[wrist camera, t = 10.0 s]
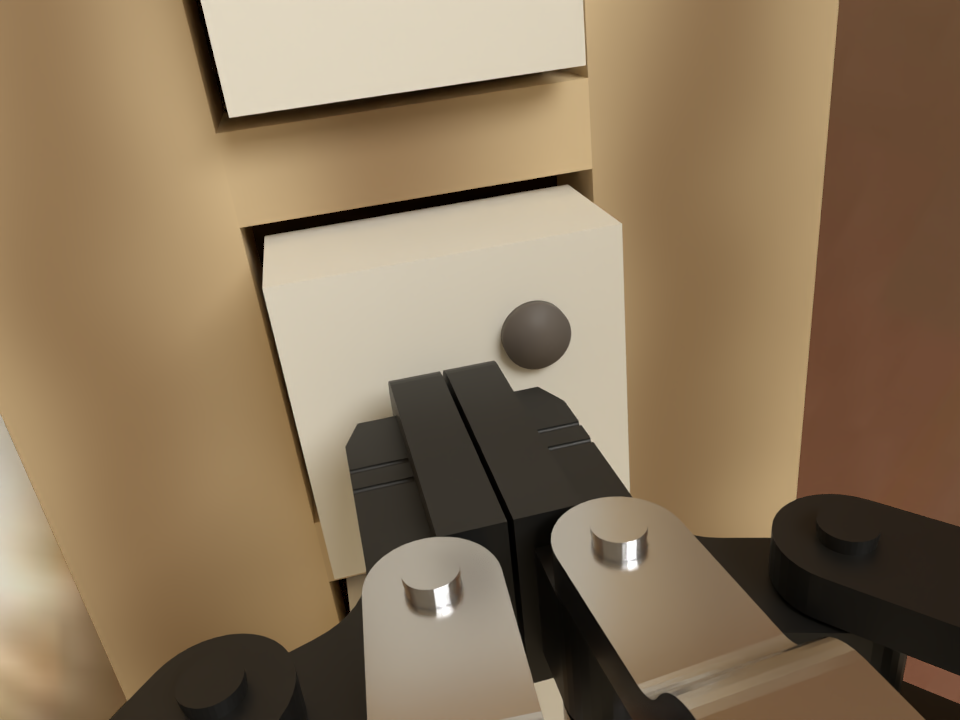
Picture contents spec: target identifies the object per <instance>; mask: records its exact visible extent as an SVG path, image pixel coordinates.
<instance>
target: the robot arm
mask: <svg viewBox="0 0 960 720" xmlns="http://www.w3.org/2000/svg"><path fill="white" fill-rule="evenodd" d="M388 386H389V394H390V400H391V406H392V412H393V416H392V417H388V418H383V419H378V420H373V421H368V422H363V423H358V424H357V425H356V427H355V429H354V431H353V433H352V435H351V437H350V439H349V441H348V443H347V444H346V446H345V448H346V454H347V460H348V466H349V472H350V478H351V484H352V490H353V495H354V501H355V507H356V513H357V519H358V525H359V531H360V537H361V542H362V548H363V554H364V560H365V566H366V578H365V581H364V584H363V587H362V595H361V597H360V599H359V601H358V602H357V604H356V605H355V607H354V608H353V609H352V610H351V612H350V613H349V614H348V615H347V616H346V617H345V618H344V619H343V620H342V621H341V622H340V623H338V624H337V625H336V626H334V627H333V628H332V629H330V630H329V631H327V632H326V633H324V634H322V635H321V636H319V637H317V638H315V639H314V640H312V641H310V642H308V643H306V644H304V645H302V646H300V647H298V648H296V649H294V650H292V651H290V652H288V651H287V650H286V649H285V648H284V647H283V646H282V645H281V644H279V643H278V642H276V641H275V640H272V639H270V638H268V637H265V636H261V635H256V634H244V633H241V634H229V635H224V636H219V637H215V638H212V639H209V640H206V641H203V642H201V643H198V644H196V645H194V646H192V647H190V648H188V649H186V650H184V651H183V652H181V653H179V654H177V655H176V656H175V657H173V658H172V659H171V660H169V661H168V662H166V663H165V664H164V665H163V666H162V667H161V668H160V669H159V670H157V671H156V672H155V673H154V674H153V675H152V676H151V677H150V678H149V679H148V680H147V681H146V683H145V684H144V685H143V686H142V687H141V688H140V689H139V690H138V691H137V692H136V693H135V694H134V695H133V696H132V697H131V698H130V699H129V700H128V701H127V702H126V703H125V704H124V705H123V706H122V707H121V708H120V709H119V710H118V711H117V712H116V713H115V714H114V715H113V716H112V717H111V718H110V720H544V718H543V715H542V711H541V708H540V704H539V701H538V697H537V693H536V690H535V686H534V683H537V682H540V681H544V680H548V679H552V678H554V680H555V682H556V685H557V687H558V690H559V692H560V695H561V697H562V700H563V714H564V720H960V704H958V703H956V702H953V701H951V700H948V699H946V698H944V697H941V696H939V695H936V694H934V693H931V692H929V691H926V690H924V689H922V688H919V687H917V686H914V685H912V684H909V683H907V682H904V681H902V680H903V675H904V670H905V665H906V659H907V655H908V656H911V657H913V658H916V659H919V660H921V661H924V662H926V663H929V664H931V665H934V666H937V667H939V668H942V669H944V670H947V671H949V672H952V673H954V674H957V675H960V527H959V526H955V525H952V524H948V523H945V522H942V521H938V520H935V519H931V518H928V517H925V516H921V515H918V514H914V513H911V512H908V511H904V510H901V509H897V508H894V507H891V506H887V505H884V504H880V503H877V502H874V501H870V500H867V499H863V498H858V497H854V496H847V495H838V494H820V495H812V496H806V497H803V498H799V499H796V500H794V501H792V502H790V503H788V504H787V505H785V506H784V507H782V508H781V509H780V510H779V511H778V512H777V514H776V515H775V517H774V519H773V523H772V530H771V538H715V537H703V536H696V535H693V534H692V533H691V532H690V530H689V529H688V528H687V527H686V526H685V525H684V524H683V523H682V522H681V521H680V519H678V518H677V517H676V516H675V515H674V514H673V513H672V512H670V511H669V510H667V509H665V508H664V507H662V506H660V505H657V504H655V503H652V502H649V501H646V500H642V499H638V498H633V497H632V496H631V494H630V493H629V491H628V490H627V489H626V487H625V486H624V484H623V483H622V481H621V480H620V479H619V477H618V476H617V474H616V473H615V472H614V470H613V469H612V467H611V466H610V464H609V463H608V462H607V460H606V459H605V457H604V456H603V455H602V453H601V452H600V450H599V449H598V448H597V446H596V445H595V443H594V442H591V438H590V436H589V435H588V433H587V432H586V431H585V429H584V428H583V426H582V425H579V421H578V419H577V418H576V416H575V415H574V414H573V412H572V411H571V409H570V408H569V407H568V405H567V404H566V402H565V401H564V400H562V399H560V398H558V397H556V396H555V395H553V394H551V393H549V392H547V391H545V390H543V389H542V388H540V387H534V388H529V389H524V390H519V391H513V389H512V388H511V386H510V384H509V383H508V381H507V379H506V378H505V376H504V374H503V373H502V371H501V369H500V368H499V366H498V364H497V363H496V362H495V361H488V362H483V363H478V364H473V365H468V366H463V367H458V368H452V369H447V370H443V376H442V374H441V372H440V371H438V372H433V373H428V374H423V375H418V376H413V377H408V378H402V379H397V380H392V381H388Z"/></svg>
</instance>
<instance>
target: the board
mask: <svg viewBox="0 0 960 720" xmlns="http://www.w3.org/2000/svg"><path fill="white" fill-rule="evenodd" d="M838 7H839V0H583V12H584V33H585V55H586V65H585V66H578V67H571V68H564V69H557V70H551V71H544V72H537V73H530V74H523V75H517V76H510V77H503V78H496V79H490V80H483V81H476V82H469V83H462V84H456V85H449V86H442V87H435V88H428V89H422V90H415V91H408V92H401V93H394V94H388V95H381V96H374V97H367V98H361V99H354V100H347V101H340V102H333V103H327V104H320V105H313V106H306V107H299V108H293V109H286V110H279V111H272V112H265V113H259V114H252V115H245V116H238V117H232V118H229V115H228V112H224V111H223V107H222V103H221V99H220V95H219V91H218V87H217V83H216V79H215V75H214V71H213V67H212V62H211V58H210V54H209V50H208V46H207V42H206V38H205V34H204V30H203V26H202V22H201V18H200V14H199V9H198V5H197V1H196V0H0V414H1V416H2V418H3V420H4V423H5V425H6V427H7V429H8V432H9V434H10V436H11V439H12V441H13V443H14V445H15V448H16V450H17V452H18V454H19V457H20V459H21V461H22V464H23V466H24V468H25V470H26V473H27V475H28V477H29V479H30V482H31V484H32V486H33V489H34V491H35V493H36V495H37V498H38V500H39V502H40V504H41V507H42V509H43V511H44V514H45V516H46V518H47V520H48V523H49V525H50V527H51V529H52V532H53V534H54V536H55V539H56V541H57V543H58V545H59V548H60V550H61V552H62V554H63V557H64V559H65V561H66V564H67V566H68V568H69V570H70V573H71V575H72V577H73V579H74V582H75V584H76V586H77V588H78V591H79V593H80V595H81V598H82V600H83V602H84V604H85V607H86V609H87V611H88V613H89V616H90V618H91V620H92V623H93V625H94V627H95V629H96V632H97V634H98V636H99V638H100V641H101V643H102V645H103V648H104V650H105V652H106V654H107V657H108V659H109V661H110V663H111V666H112V668H113V670H114V673H115V675H116V677H117V679H118V682H119V684H120V686H121V688H122V691H123V693H124V695H125V698H126V700H127V701H128V700H129V699H130V698H131V697H132V696H133V695H134V694H135V693H136V692H137V691H138V690H139V689H140V688H141V687H142V686H143V685H144V684H145V683H146V681H147V680H148V679H149V678H150V677H151V676H152V675H153V674H154V673H155V672H156V671H157V670H159V669H160V668H161V667H162V666H163V665H164V664H165V663H166V662H168V661H169V660H171V659H172V658H173V657H175V656H176V655H177V654H179V653H181V652H183V651H184V650H186V649H188V648H190V647H192V646H194V645H196V644H198V643H201V642H203V641H206V640H209V639H212V638H215V637H219V636H224V635H229V634H241V633H244V634H256V635H261V636H265V637H268V638H270V639H272V640H275V641H276V642H278V643H279V644H281V645H282V646H283V647H284V648H285V649H286V650H287V651H288V652H290V651H292V650H294V649H296V648H298V647H300V646H302V645H304V644H306V643H308V642H310V641H312V640H314V639H315V638H317V637H319V636H321V635H322V634H324V633H326V632H327V631H329V630H330V629H332V628H333V627H334V626H336V625H337V624H338V623H340V622H341V621H342V620H343V619H344V618H345V617H346V616H347V613H346V609H345V605H344V600H343V596H342V592H341V588H340V584H339V579H343V578H348V577H352V576H356V575H360V574H364V573H366V572H364V573H360V574H356V575H352V576H347V577H343V578H339V579H334V575H333V571H332V567H331V563H330V559H329V555H328V551H327V547H326V543H325V539H324V535H323V531H322V527H321V523H320V519H319V515H318V511H317V507H316V503H315V499H314V495H313V491H312V487H311V483H310V479H309V475H308V471H307V467H306V463H305V458H304V454H303V450H302V446H301V442H300V438H299V434H298V430H297V426H296V422H295V418H294V414H293V410H292V406H291V402H290V398H289V394H288V390H287V386H286V382H285V378H284V374H283V370H282V366H281V362H280V358H279V354H278V350H277V346H276V342H275V338H274V334H273V330H272V326H271V321H270V317H269V313H268V309H267V305H266V301H265V297H264V293H263V289H262V284H263V270H262V266H261V262H260V258H259V254H258V250H257V246H256V242H255V238H254V234H253V230H252V226H254V225H260V224H266V223H272V222H278V221H284V220H290V219H296V218H302V217H308V216H314V215H320V214H326V213H332V212H338V211H343V210H349V209H355V208H361V207H367V206H373V205H379V204H385V203H391V202H397V201H403V200H409V199H415V198H421V197H427V196H433V195H439V194H445V193H451V192H457V191H463V190H468V189H474V188H480V187H486V186H492V185H498V184H504V183H510V182H516V181H522V180H528V179H534V178H540V177H546V176H552V175H557V186H561V185H567V184H568V185H569V186H571V187H572V188H573V189H575V190H576V191H578V192H579V193H580V194H582V195H583V196H585V197H586V198H587V199H589V200H590V201H591V202H593V203H594V204H596V205H597V206H598V207H600V208H601V209H602V210H604V211H605V212H607V213H608V214H609V215H611V216H612V217H614V218H615V219H616V220H618V221H619V222H620V223H622V238H623V272H624V306H625V341H626V375H627V409H628V444H629V478H630V494H631V496H632V497H633V498H638V499H642V500H646V501H649V502H652V503H655V504H657V505H660V506H662V507H664V508H665V509H667V510H669V511H670V512H672V513H673V514H674V515H675V516H676V517H677V518H678V519H680V521H681V522H682V523H683V524H684V525H685V526H686V527H687V528H688V529H689V530H690V532H691V533H692V534H693V535H696V536H703V537H715V538H771V530H772V523H773V519H774V517H775V515H776V514H777V512H778V511H779V510H780V509H781V508H782V507H784V506H785V505H787V504H788V503H790V502H792V501H794V500H796V495H797V483H798V471H799V460H800V448H801V437H802V425H803V413H804V402H805V390H806V379H807V367H808V355H809V344H810V332H811V320H812V309H813V297H814V286H815V274H816V262H817V251H818V239H819V228H820V216H821V204H822V193H823V181H824V169H825V158H826V146H827V135H828V123H829V111H830V100H831V88H832V77H833V65H834V53H835V42H836V30H837V18H838Z"/></svg>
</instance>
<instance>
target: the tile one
mask: <svg viewBox="0 0 960 720" xmlns="http://www.w3.org/2000/svg"><path fill="white" fill-rule="evenodd" d="M201 4H202V8H203V12H204V17H205V21H206V25H207V29H208V33H209V37H210V41H211V45H212V49H213V54H214V58H215V62H216V66H217V70H218V74H219V78H220V82H221V86H222V91H223V95H224V99H225V103H226V107H227V111H228V115H229V118H232V117H238V116H245V115H252V114H259V113H265V112H272V111H279V110H286V109H293V108H299V107H306V106H313V105H320V104H327V103H333V102H340V101H347V100H354V99H361V98H367V97H374V96H381V95H388V94H394V93H401V92H408V91H415V90H422V89H428V88H435V87H442V86H449V85H456V84H462V83H469V82H476V81H483V80H490V79H496V78H503V77H510V76H517V75H523V74H530V73H537V72H544V71H551V70H557V69H564V68H571V67H578V66H585V65H586V55H585V33H584V12H583V0H201Z"/></svg>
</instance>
